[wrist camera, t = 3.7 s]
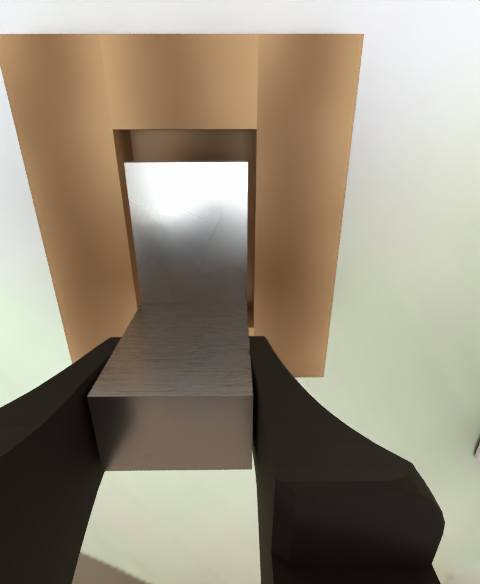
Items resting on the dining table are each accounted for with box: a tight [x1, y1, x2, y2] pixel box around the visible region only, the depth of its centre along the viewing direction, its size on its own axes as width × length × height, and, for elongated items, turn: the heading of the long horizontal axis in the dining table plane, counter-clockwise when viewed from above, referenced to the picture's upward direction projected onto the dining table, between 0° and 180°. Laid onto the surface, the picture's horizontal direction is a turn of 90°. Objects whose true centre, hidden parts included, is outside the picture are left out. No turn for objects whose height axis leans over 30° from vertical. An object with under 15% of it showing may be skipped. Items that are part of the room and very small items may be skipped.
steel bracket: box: [87, 160, 253, 471], centre depth 11 cm, size 4×8×6 cm, turn 0°
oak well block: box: [0, 34, 364, 377], centre depth 18 cm, size 14×16×3 cm
